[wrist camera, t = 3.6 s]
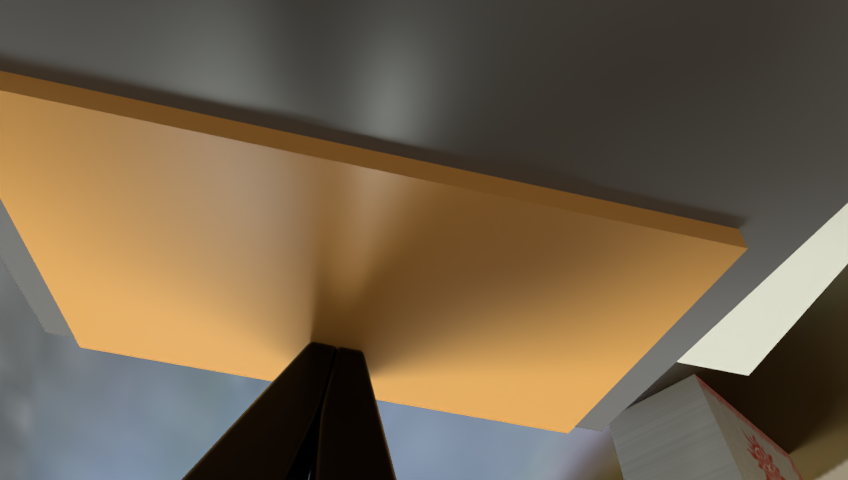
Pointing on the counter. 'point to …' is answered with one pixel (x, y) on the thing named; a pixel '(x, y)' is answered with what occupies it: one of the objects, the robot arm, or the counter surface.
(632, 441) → the printed cardboard box
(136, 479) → the counter surface
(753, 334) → the breaker housing
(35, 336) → the counter surface
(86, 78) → the rocker switch
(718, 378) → the counter surface
